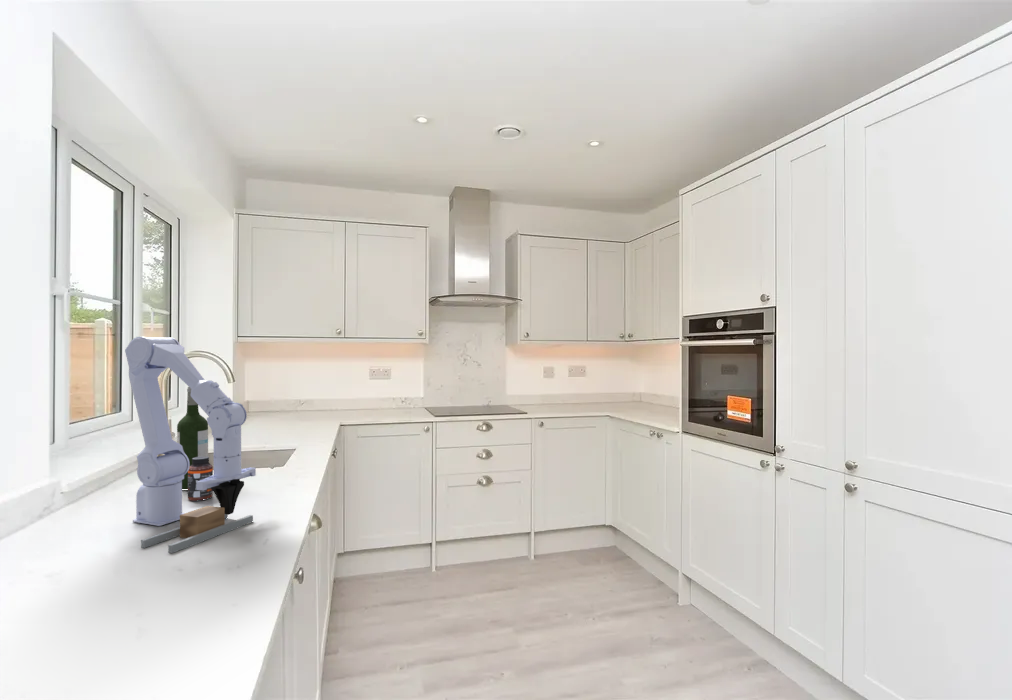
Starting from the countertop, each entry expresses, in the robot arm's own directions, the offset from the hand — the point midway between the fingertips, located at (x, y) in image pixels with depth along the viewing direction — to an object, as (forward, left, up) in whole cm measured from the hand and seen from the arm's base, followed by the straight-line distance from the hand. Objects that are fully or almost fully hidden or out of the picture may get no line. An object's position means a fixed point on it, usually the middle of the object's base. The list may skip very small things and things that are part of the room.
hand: (227, 513), depth 120 cm
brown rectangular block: (0, -6, -3) cm, 7 cm away
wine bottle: (-38, +21, -3) cm, 43 cm away
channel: (0, -7, -2) cm, 7 cm away
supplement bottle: (-25, +13, -3) cm, 28 cm away
